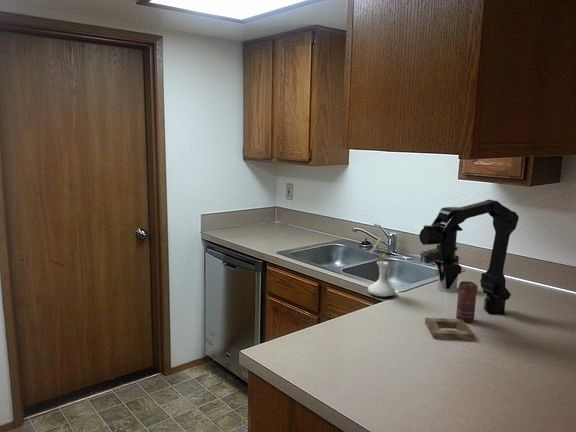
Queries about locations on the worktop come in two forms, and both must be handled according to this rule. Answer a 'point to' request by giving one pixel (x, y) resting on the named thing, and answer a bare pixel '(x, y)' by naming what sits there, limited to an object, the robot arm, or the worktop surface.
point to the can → (466, 301)
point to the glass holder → (442, 284)
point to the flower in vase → (381, 277)
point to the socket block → (461, 334)
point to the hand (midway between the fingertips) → (444, 284)
